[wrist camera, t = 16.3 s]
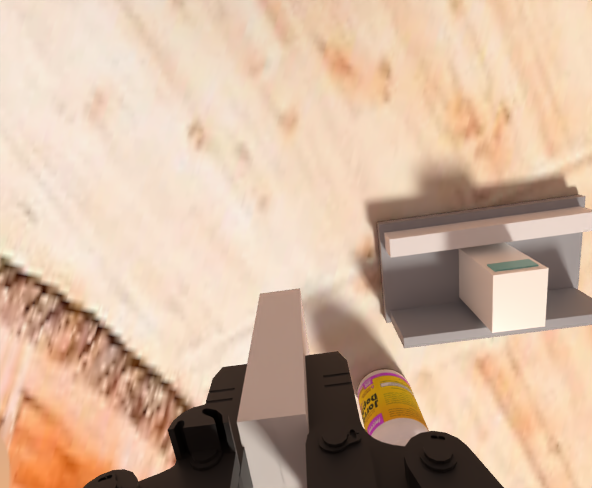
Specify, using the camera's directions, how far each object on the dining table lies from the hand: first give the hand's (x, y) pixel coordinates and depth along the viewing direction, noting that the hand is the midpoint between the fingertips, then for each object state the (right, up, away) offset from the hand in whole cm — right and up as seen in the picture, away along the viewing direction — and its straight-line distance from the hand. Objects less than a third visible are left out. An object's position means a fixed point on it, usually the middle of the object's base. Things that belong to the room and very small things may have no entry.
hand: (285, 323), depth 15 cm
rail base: (+21, +1, +31) cm, 37 cm away
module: (+21, 0, +30) cm, 37 cm away
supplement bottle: (+11, -15, +36) cm, 41 cm away
